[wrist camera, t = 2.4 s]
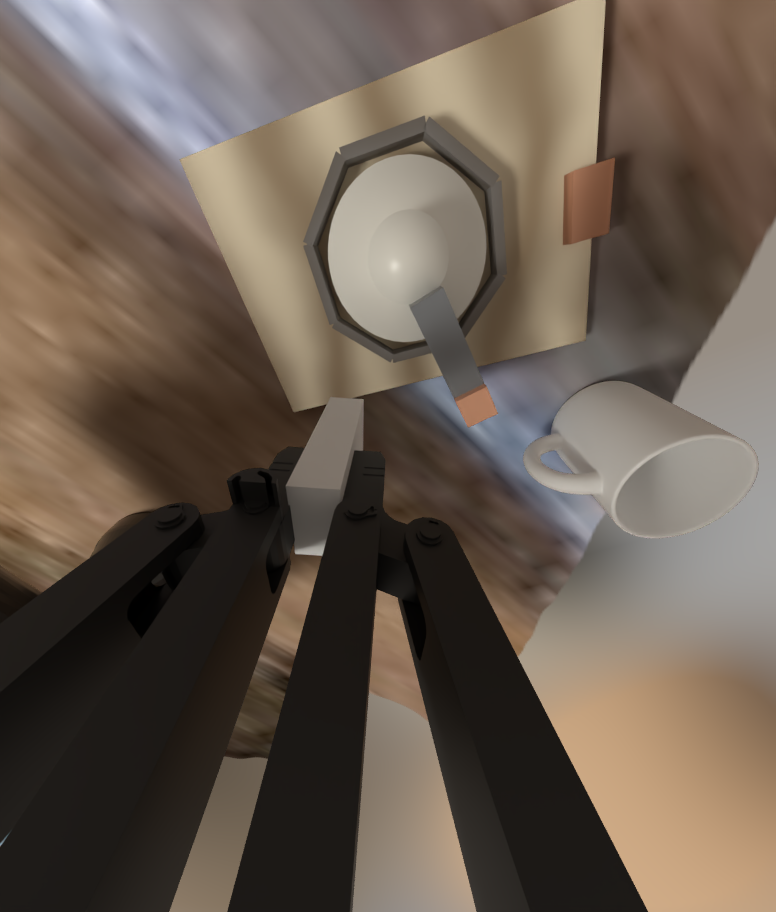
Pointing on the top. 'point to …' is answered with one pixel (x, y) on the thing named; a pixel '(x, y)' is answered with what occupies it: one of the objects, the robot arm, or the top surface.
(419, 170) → the dial
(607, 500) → the mug
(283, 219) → the board
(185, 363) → the top surface
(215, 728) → the robot arm
